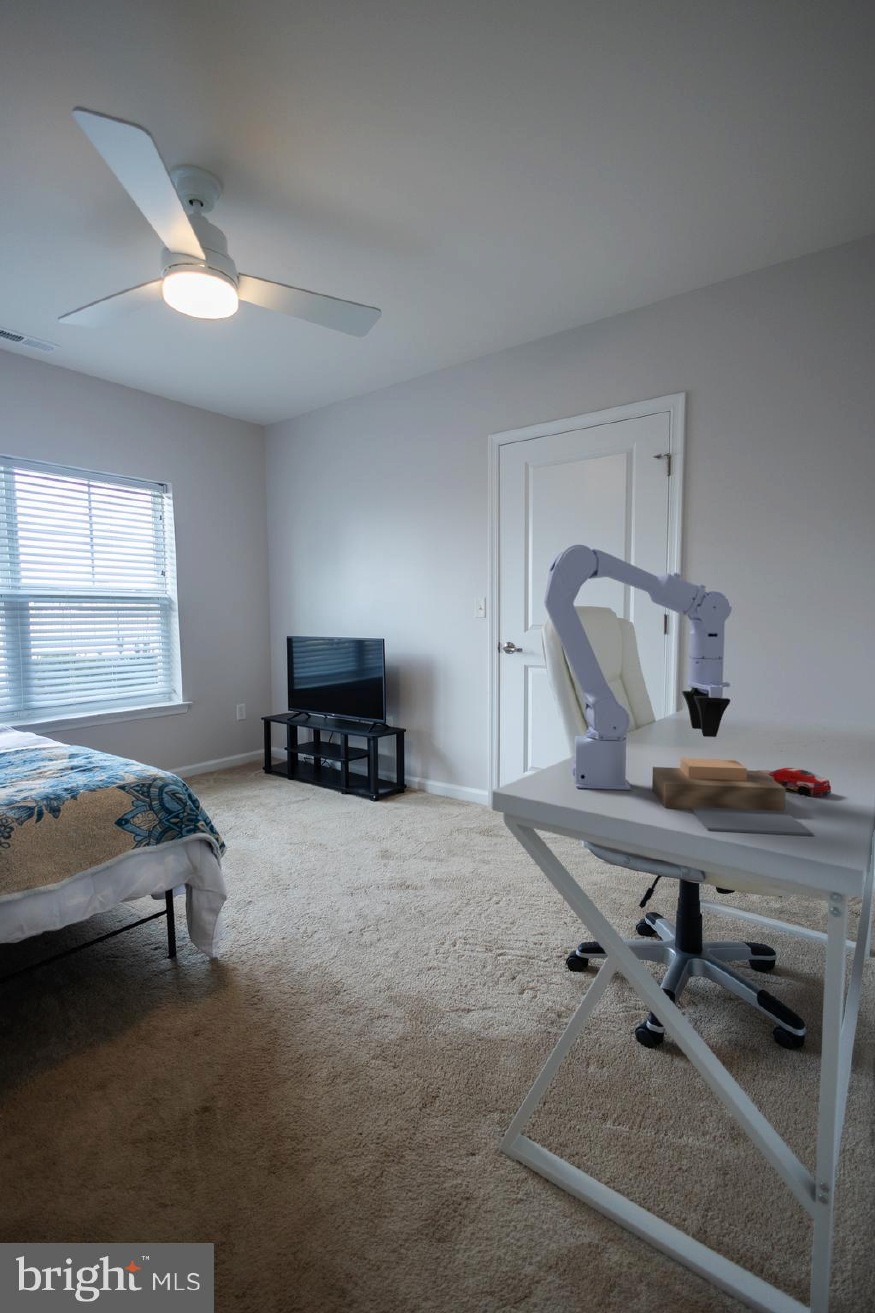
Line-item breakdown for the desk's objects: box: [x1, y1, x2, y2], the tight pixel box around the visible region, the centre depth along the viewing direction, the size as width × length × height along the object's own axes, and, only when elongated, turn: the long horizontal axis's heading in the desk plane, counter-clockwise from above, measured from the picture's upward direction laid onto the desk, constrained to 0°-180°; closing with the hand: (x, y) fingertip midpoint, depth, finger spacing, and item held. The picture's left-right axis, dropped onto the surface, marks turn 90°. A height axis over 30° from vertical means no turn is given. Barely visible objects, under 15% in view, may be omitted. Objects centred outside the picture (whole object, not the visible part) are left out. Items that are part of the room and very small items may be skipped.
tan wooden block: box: [679, 757, 748, 780], centre depth 104 cm, size 9×6×2 cm, turn 81°
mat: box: [690, 807, 814, 837], centre depth 92 cm, size 14×10×1 cm
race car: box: [757, 767, 832, 797], centre depth 109 cm, size 13×5×4 cm, turn 39°
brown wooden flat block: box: [651, 766, 787, 811], centre depth 102 cm, size 18×11×4 cm, turn 81°
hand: (703, 732), depth 111 cm, fingers open, 7 cm apart
